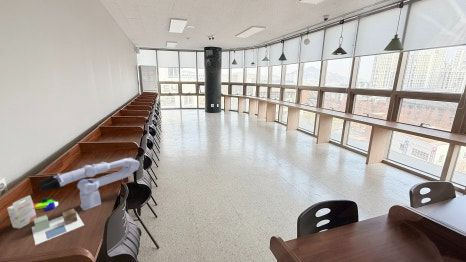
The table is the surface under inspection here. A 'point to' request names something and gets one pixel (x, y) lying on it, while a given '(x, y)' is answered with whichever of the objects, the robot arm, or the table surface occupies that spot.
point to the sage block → (41, 223)
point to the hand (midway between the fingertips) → (39, 187)
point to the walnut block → (69, 216)
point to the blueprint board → (55, 229)
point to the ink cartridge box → (22, 212)
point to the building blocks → (46, 204)
